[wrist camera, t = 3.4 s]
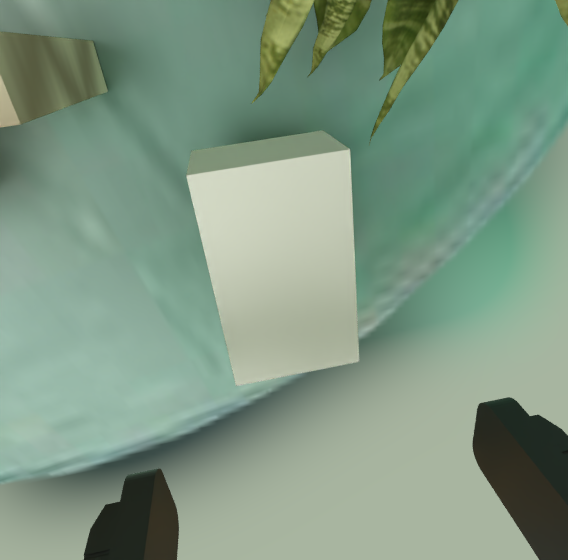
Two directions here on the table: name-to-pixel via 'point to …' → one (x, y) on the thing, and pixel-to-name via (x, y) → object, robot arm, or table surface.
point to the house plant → (345, 20)
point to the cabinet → (280, 252)
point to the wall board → (45, 75)
